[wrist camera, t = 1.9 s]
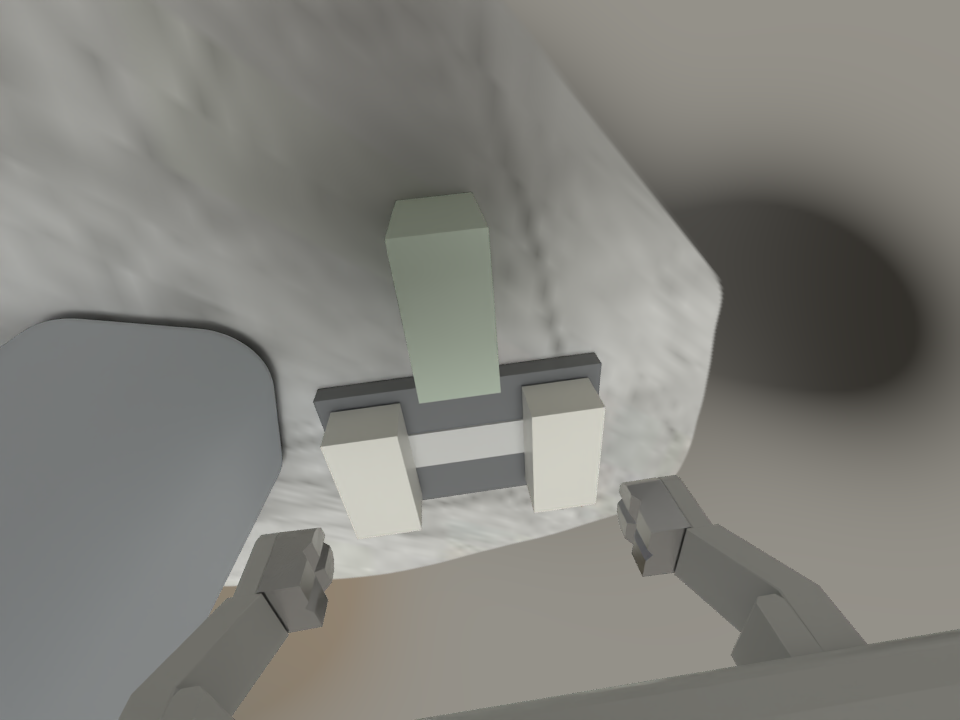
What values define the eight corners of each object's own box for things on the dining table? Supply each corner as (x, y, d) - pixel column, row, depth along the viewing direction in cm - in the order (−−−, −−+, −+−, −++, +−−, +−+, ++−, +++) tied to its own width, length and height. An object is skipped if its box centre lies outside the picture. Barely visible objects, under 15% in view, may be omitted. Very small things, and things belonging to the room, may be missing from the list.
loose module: (396, 200, 24) (384, 239, 18) (471, 192, 25) (488, 227, 18) (421, 336, 29) (419, 407, 23) (484, 328, 30) (500, 396, 23)
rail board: (317, 389, 31) (299, 437, 26) (594, 352, 32) (621, 393, 27) (357, 496, 37) (348, 549, 33) (586, 462, 38) (606, 510, 34)
